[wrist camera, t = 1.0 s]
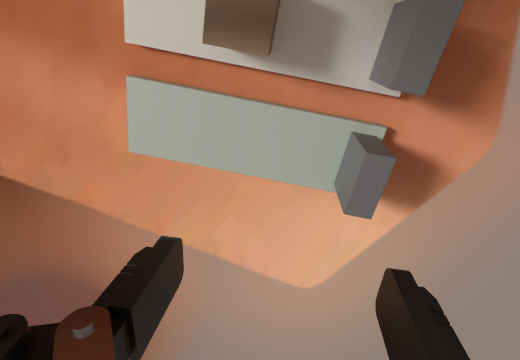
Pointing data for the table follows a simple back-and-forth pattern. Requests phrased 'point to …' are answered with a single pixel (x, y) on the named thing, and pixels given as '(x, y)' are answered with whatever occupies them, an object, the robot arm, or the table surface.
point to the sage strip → (260, 140)
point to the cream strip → (318, 39)
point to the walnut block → (241, 24)
